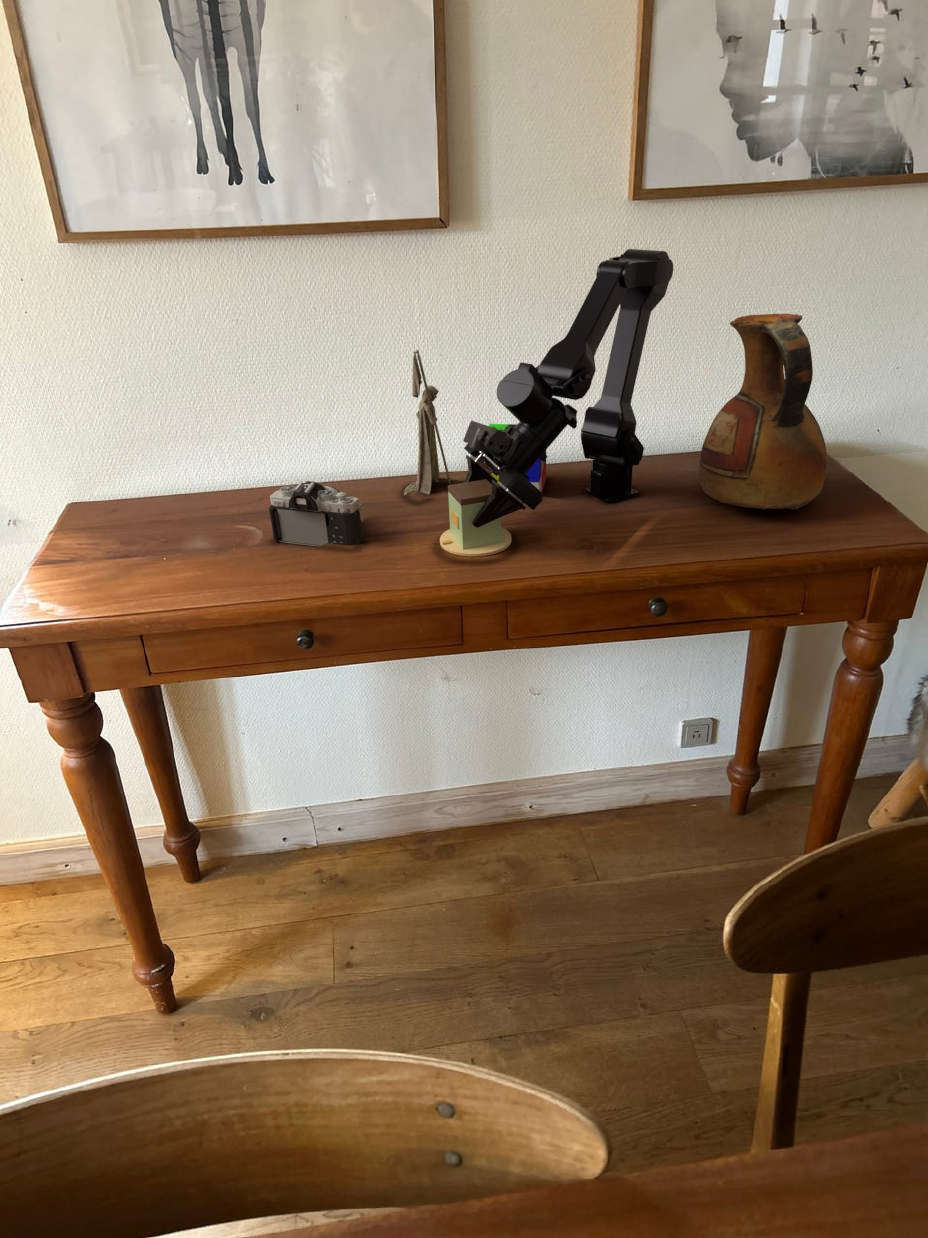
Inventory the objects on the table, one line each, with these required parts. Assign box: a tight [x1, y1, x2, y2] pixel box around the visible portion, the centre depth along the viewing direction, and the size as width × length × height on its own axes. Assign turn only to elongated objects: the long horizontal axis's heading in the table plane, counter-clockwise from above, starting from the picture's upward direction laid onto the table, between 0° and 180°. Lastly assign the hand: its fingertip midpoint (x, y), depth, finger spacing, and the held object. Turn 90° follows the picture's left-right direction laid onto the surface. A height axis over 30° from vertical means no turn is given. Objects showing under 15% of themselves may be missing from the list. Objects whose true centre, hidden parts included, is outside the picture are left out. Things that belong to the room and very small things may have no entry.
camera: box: [268, 480, 364, 548], centre depth 140 cm, size 16×9×10 cm, turn 71°
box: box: [439, 479, 513, 558], centre depth 135 cm, size 11×11×8 cm
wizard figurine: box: [403, 349, 452, 496], centre depth 152 cm, size 10×8×25 cm
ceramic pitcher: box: [698, 313, 828, 510], centre depth 141 cm, size 20×20×30 cm
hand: (465, 515), depth 135 cm, fingers open, 8 cm apart
